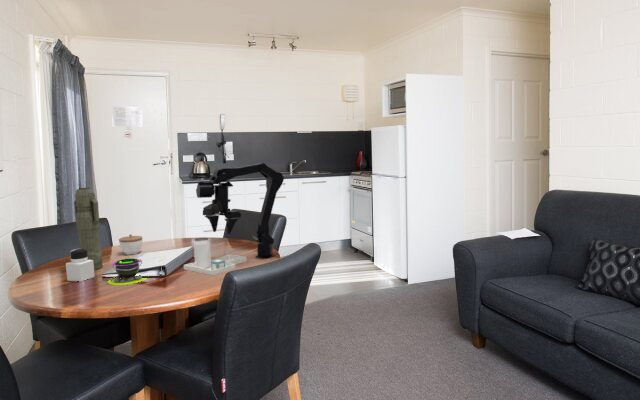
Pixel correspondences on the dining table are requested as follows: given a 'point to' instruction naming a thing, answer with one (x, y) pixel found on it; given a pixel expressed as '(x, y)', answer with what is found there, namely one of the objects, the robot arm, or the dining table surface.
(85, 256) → the medicine bottle
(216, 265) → the letter cube
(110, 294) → the dining table surface
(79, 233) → the thermos
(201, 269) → the long tray
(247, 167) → the robot arm
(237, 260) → the small tray
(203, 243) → the can
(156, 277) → the dining table surface
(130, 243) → the lidded jar
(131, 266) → the toy cauldron
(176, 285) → the dining table surface
